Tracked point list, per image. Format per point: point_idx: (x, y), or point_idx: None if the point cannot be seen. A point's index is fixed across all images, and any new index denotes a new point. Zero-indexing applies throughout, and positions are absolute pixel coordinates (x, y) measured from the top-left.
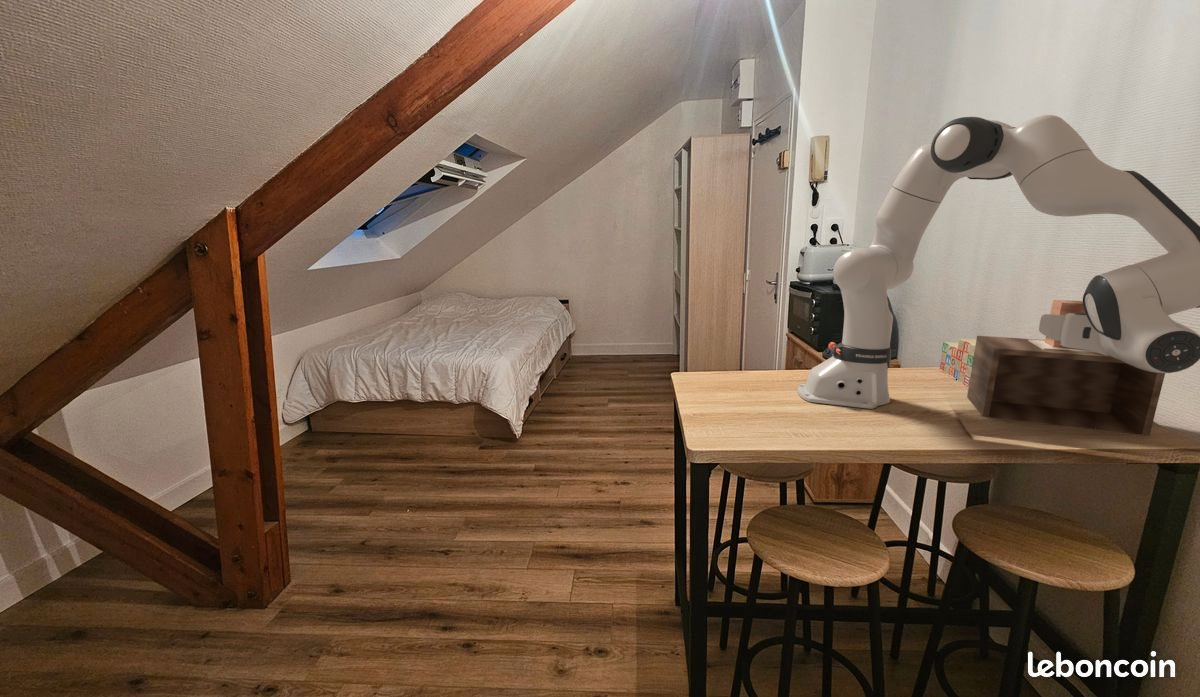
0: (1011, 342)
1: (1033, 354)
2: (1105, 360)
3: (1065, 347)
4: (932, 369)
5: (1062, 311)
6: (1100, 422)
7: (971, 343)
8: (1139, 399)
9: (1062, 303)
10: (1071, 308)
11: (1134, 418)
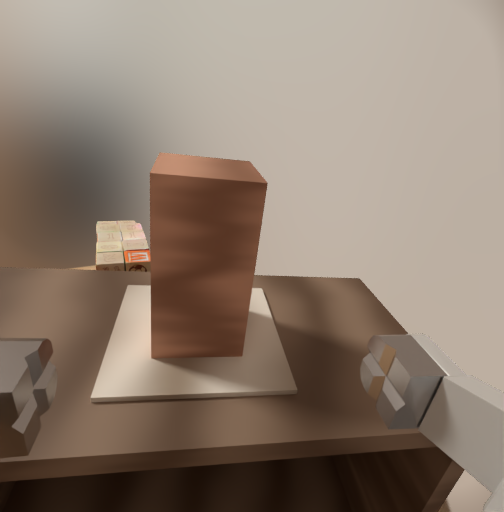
0: (42, 320)
1: (6, 474)
2: (306, 452)
3: (192, 357)
4: (91, 267)
5: (159, 217)
6: (292, 505)
7: (99, 242)
8: (378, 469)
9: (153, 177)
10: (194, 203)
11: (361, 502)
